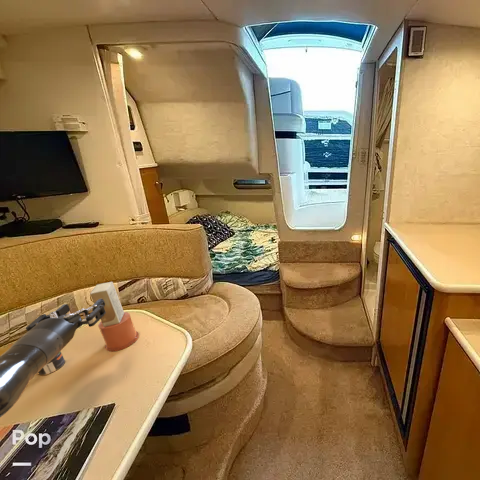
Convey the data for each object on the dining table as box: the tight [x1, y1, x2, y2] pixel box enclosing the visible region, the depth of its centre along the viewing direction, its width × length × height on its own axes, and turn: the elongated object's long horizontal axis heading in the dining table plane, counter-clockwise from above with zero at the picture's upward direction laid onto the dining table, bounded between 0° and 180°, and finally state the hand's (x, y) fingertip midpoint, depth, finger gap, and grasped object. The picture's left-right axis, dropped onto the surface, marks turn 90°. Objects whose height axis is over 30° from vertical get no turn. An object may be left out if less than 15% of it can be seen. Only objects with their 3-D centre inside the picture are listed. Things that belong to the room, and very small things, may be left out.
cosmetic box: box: [89, 281, 125, 327], centre depth 84 cm, size 6×4×12 cm
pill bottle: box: [37, 350, 66, 376], centre depth 78 cm, size 6×6×11 cm
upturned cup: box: [97, 311, 140, 353], centre depth 88 cm, size 9×9×9 cm
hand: (84, 304), depth 74 cm, fingers open, 8 cm apart
